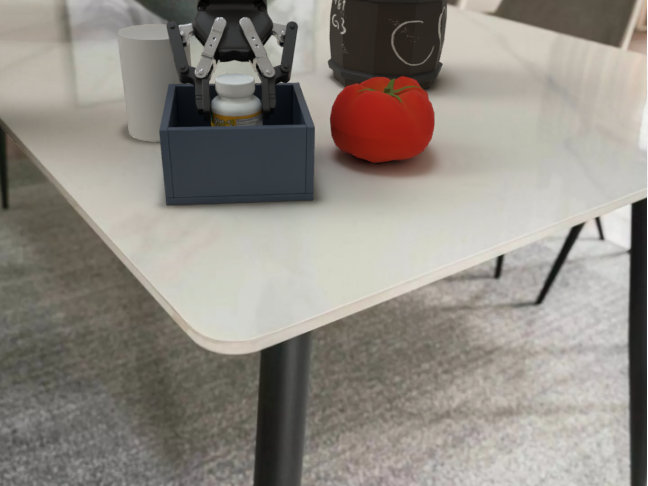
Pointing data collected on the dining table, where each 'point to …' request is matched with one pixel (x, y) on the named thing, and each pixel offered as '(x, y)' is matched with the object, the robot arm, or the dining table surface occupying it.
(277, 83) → the robot arm
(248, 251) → the dining table surface
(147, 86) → the cup
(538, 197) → the dining table surface
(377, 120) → the tomato
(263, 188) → the tote
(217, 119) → the supplement bottle
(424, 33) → the dark plant pot
